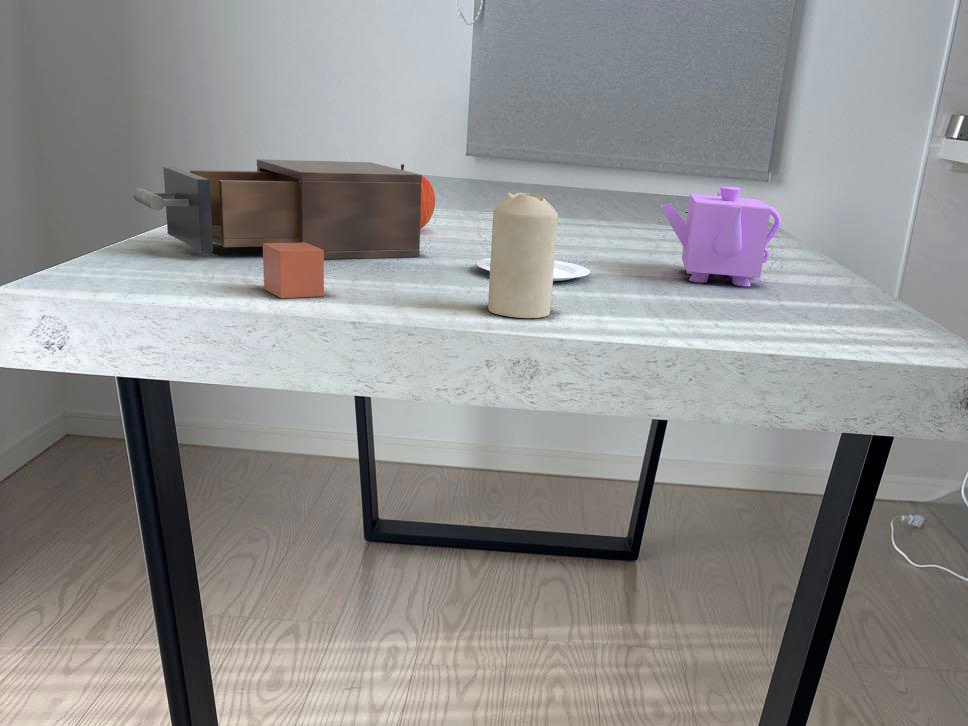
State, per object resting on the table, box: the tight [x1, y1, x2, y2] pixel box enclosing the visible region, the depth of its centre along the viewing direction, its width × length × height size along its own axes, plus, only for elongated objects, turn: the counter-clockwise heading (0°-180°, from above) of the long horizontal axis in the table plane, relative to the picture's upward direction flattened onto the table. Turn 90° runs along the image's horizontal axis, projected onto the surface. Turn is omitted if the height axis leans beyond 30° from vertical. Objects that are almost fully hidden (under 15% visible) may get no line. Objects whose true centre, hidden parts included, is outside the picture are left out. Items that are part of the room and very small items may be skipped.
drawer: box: [132, 166, 300, 253], centre depth 109 cm, size 16×11×7 cm
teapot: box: [660, 185, 782, 287], centre depth 115 cm, size 18×13×10 cm
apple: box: [400, 163, 436, 230], centre depth 132 cm, size 8×8×8 cm
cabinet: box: [256, 158, 423, 260], centre depth 115 cm, size 14×13×9 cm
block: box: [262, 243, 325, 299], centre depth 92 cm, size 4×4×4 cm
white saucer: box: [475, 257, 591, 282], centre depth 110 cm, size 12×12×4 cm
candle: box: [487, 192, 559, 319], centre depth 91 cm, size 6×6×10 cm
